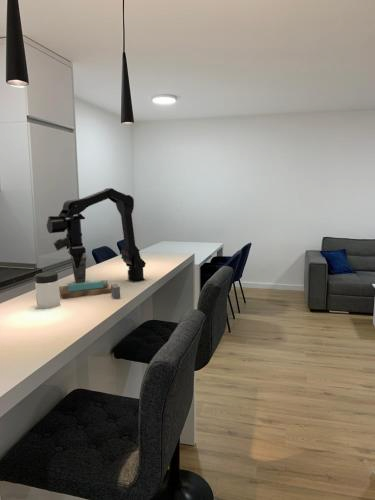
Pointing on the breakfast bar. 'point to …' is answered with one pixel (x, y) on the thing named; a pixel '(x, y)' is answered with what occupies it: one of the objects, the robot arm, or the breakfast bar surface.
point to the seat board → (82, 292)
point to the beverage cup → (79, 270)
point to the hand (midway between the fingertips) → (77, 267)
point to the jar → (47, 290)
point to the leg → (87, 285)
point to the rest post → (115, 291)
